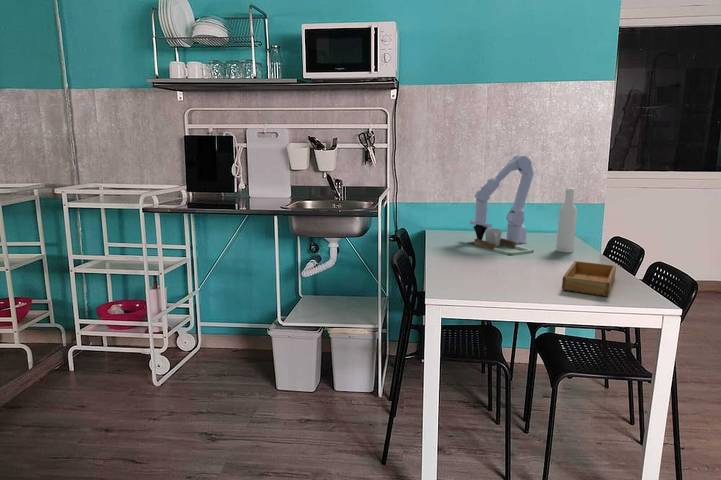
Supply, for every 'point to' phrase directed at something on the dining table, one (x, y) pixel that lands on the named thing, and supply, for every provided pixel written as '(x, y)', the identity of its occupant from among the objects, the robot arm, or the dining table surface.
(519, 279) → the dining table surface
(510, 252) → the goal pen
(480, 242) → the channel
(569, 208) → the bottle
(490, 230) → the cup
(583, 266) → the tray
